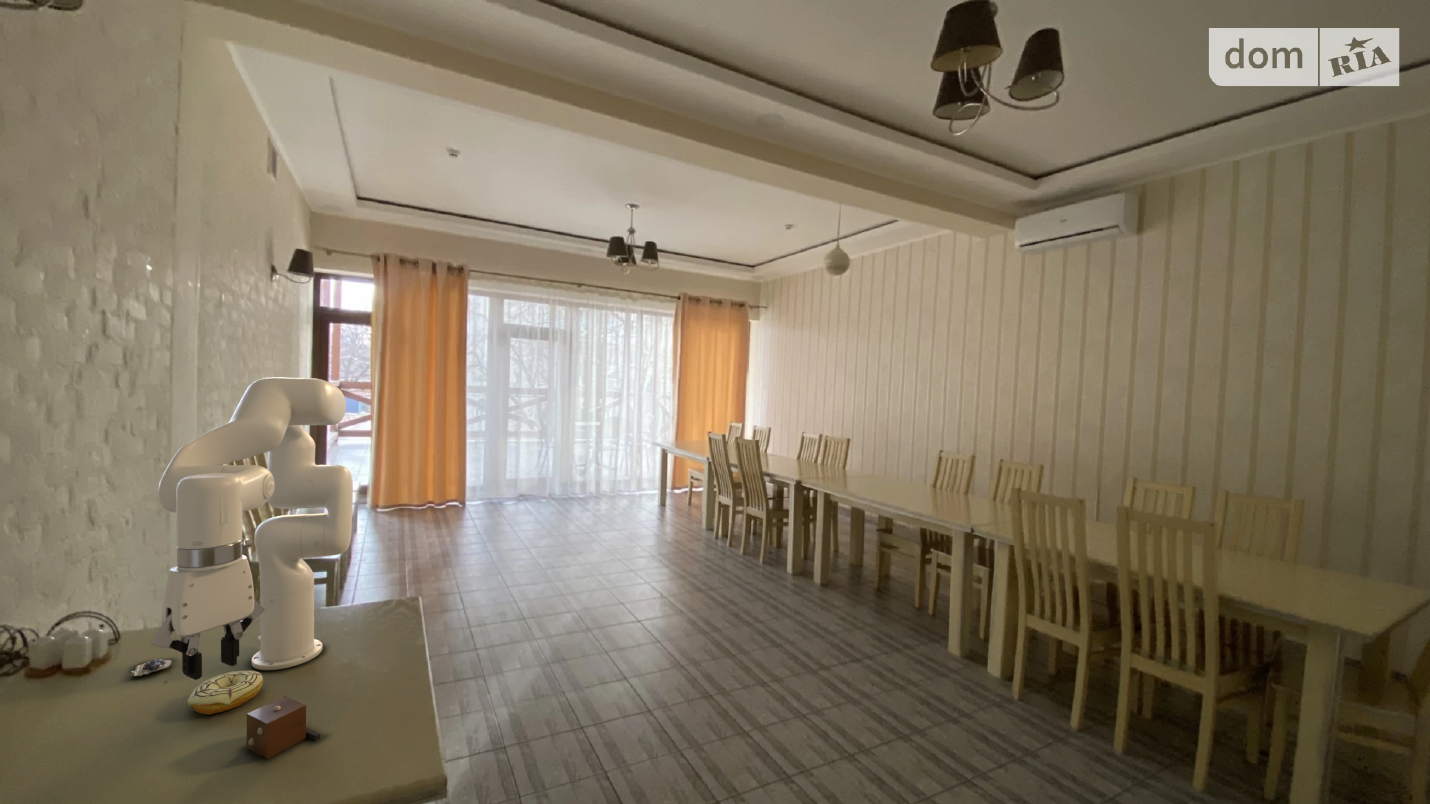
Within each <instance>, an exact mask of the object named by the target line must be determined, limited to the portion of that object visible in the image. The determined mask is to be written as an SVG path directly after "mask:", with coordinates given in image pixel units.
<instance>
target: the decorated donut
mask: <svg viewBox="0 0 1430 804" xmlns="http://www.w3.org/2000/svg"><path fill="white" fill-rule="evenodd" d="M263 683H264V679H263V674H262V673H261V672H259V671H255V670H236V671H230V672H225V673H221V674H219V675H216V676H213V677H211V678H209V679H206V680H205V681H203V682H202V683H201V684H199V685H197V687H195V688H194V690H193V692H192V693H191V694H190V696H189V697H188V699H187V705H188V706H190V707H191V708H192V709H193V710H194V711H195V712H196V713H199V714H203V715H213V714H219V713H222V712H226V711H229V710H232V709H233V708H237V707H240V706H241V705H243V704H245V703H247V702H248V701H250V700H252V699H253V698H254V697H256V696H257V695H258V693H259V692H260V690H261V688H262V686H263Z"/></svg>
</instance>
